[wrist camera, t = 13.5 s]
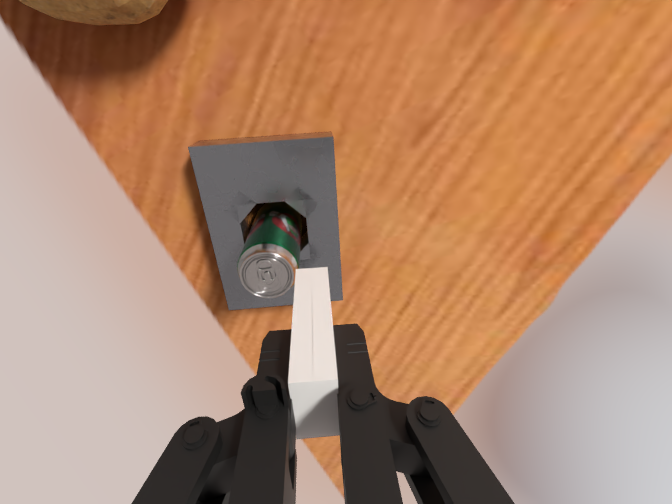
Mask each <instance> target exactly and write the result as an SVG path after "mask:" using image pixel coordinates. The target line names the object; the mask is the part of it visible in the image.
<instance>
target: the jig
mask: <svg viewBox="0 0 672 504" xmlns="http://www.w3.org/2000/svg"><path fill="white" fill-rule="evenodd" d="M188 149H189V153H190V157H191V161H192V165H193V169H194V173H195V177H196V181H197V185H198V189H199V193H200V197H201V201H202V205H203V209H204V213H205V216H206V220H207V224H208V228H209V232H210V236H211V240H212V244H213V248H214V252H215V256H216V260H217V264H218V268H219V272H220V276H221V280H222V284H223V288H224V292H225V296H226V300H227V304H228V308H229V310H238V309H249V308H260V307H271V306H283V305H293V302H294V287H295V284H294V285H293V286H292V287H291V288H290V289H289V290H288V291H287V292H286V293H285V294H283V295H281V296H279V297H276V298H260V297H257V296H255V295H253V294H251V293H249V292H248V291H247V290H246V289H245V288H244V286H243V285H242V283H241V280H240V277H239V275H238V271H237V263H238V260H239V257H240V254H241V252H242V249H243V247H244V244H245V242H246V239H247V237H248V234H249V232H250V229H249V224H248V219H247V215H248V213H249V212H250V211H251V210H252V208H253V207H254V206H255V205H256V203H269V202H282V201H285V202H286V203H287V204H289V205H290V206H291V207H292V208H294V209H295V210H296V211H298V212H299V213H300V214H301V215H303V216H304V217H305V218H306V221H307V230H308V231H307V232H306V233H305V234H304V235H303V237H302V238H301V246H300V264H299V269H305V268H319V267H328V278H329V289H330V299H331V301H339V300H343V295H342V277H341V260H340V243H339V226H338V209H337V192H336V174H335V157H334V140H333V135H332V133H331V132H318V133H304V134H290V135H276V136H261V137H247V138H233V139H218V140H204V141H198V142H196V143H195V144H193V145H191V146H189V147H188Z"/></svg>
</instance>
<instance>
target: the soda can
mask: <svg viewBox="0 0 672 504" xmlns="http://www.w3.org/2000/svg"><path fill="white" fill-rule="evenodd" d="M301 228H302V220H301V216H300V214H299V212H298V211H296V210H295V209H294V208H292V207H291V206H290V205H289V204H287V203H286V202H283V201H282V202H269V203H266V204H265V205H263V206H262V207H261V208H260V209H259V210H258V212H257V214H256V217H255V219H254V222H253V224H252V227H251V229H250V232H249V234H248V237H247V239H246V242H245V244H244V247H243V249H242V252H241V254H240V257H239V260H238V263H237V271H238V275H239V277H240V280H241V283H242V285H243V286H244V288H245V289H246V290H247V291H248V292H249V293H251V294H253V295H255V296H257V297H260V298H276V297H279V296H281V295H283V294H285V293H286V292H287V291H288V290H289V289H290V288H291V287H292V286H293V285H294V284H295V273H296V269H299V264H300V246H301Z"/></svg>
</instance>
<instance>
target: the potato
mask: <svg viewBox="0 0 672 504" xmlns="http://www.w3.org/2000/svg"><path fill="white" fill-rule="evenodd" d="M19 1H20V2H22V3H23V4H24V5H27V6H29V7H31V8H33V9H36V10H38V11H40V12H42V13H44V14H47V15H49V16H51V17H53V18H56V19H61V20H66V21H72V22H79V23H85V24H92V25H122V24H140V23H142V22H144V21H146V20H148V19H150V18H152V17H154V16H156V15H158V14H159V13H160V12H161V10H162V9H163V7H164V6H165V4H166V3H167V1H168V0H19Z"/></svg>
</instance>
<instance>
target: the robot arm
mask: <svg viewBox="0 0 672 504" xmlns="http://www.w3.org/2000/svg"><path fill="white" fill-rule="evenodd" d="M241 395H242V399H243V403H244V407H245V409H243V410H242V411H241V412H239V413H238V414H236V415H234V416H232V417H230V418H227V419H225V420H222V421H219V422H216V421H215V420H214V419H212V418H209V417H197V418H194V419H192V420H189V421H188V422H186V423H185V424H183V425H182V426H181V427H180V428H179V429H178V431H177V432H176V433H175V434H174V436H173V437H172V439H171V441H170V442H169V444H168V446H167V447H166V449H165V450H164V452H163V454H162V455H161V457H160V458H159V460H158V462H157V463H156V465H155V467H154V468H153V470H152V471H151V473H150V475H149V477H148V478H147V480H146V481H145V483H144V484H143V486H142V488H141V489H140V491H139V493H138V494H137V496H136V497H135V499H134V501H133V502H132V504H295V499H296V498H295V497H296V466H297V463H296V462H297V455H296V449H295V440H296V438H297V439H304V438H315V437H326V436H337V435H340V444H341V463H342V472H343V484H344V497H345V504H403V502H402V497H401V493H400V488H399V483H398V478H397V474H396V471H398V472H402V473H404V475H405V477H406V479H407V481H408V484H409V486H410V488H411V490H412V492H413V494H414V496H415V499H416V501H417V503H418V504H514V502H513V501H512V499H511V498H510V497H509V495H508V494H507V492H506V491H505V489H504V488H503V487H502V485H501V483H500V482H499V481H498V479H497V478H496V477H495V475H494V473H493V472H492V471H491V469H490V468H489V466H488V465H487V464H486V462H485V460H484V459H483V458H482V456H481V455H480V453H479V452H478V451H477V449H476V448H475V446H474V445H473V443H472V442H471V440H470V439H469V438H468V436H467V435H466V433H465V432H464V430H463V429H462V428H461V426H460V425H459V423H458V422H457V420H456V419H455V417H454V416H453V415H452V413H451V412H450V410H449V409H448V408H447V407H446V406H445V405H444V404H443V403H442V402H441V401H439V400H437V399H435V398H432V397H427V396H424V397H417V398H416V399H414V400H412V401H411V402H410V403H409V404H406V403H401V402H396V401H393V400H390V399H388V398H386V397H385V396H383V395H382V394H381V393H380V392H379V391H378V389H377V388H376V386H375V383H374V378H373V374H372V369H371V364H370V359H369V354H368V350H367V345H366V340H365V335H364V332H363V330H362V329H361V328H360V327H359V326H358V324H345V325H333V321H332V310H331V299H330V289H329V278H328V267H319V268H305V269H296V273H295V287H294V302H293V317H292V329H290V330H277V331H269V332H268V334H267V335H266V337H265V338H264V339H263V342H262V347H261V353H260V359H259V365H258V370H257V375H256V376H255V377H253V378H251V379H249V381H248V382H247V383H246V384H245V385H244V386H243V389H242V391H241Z"/></svg>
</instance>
